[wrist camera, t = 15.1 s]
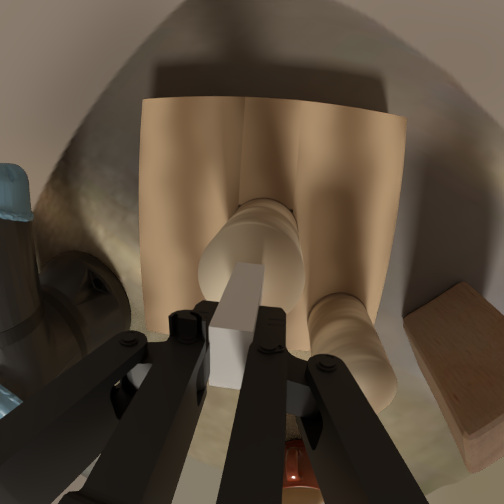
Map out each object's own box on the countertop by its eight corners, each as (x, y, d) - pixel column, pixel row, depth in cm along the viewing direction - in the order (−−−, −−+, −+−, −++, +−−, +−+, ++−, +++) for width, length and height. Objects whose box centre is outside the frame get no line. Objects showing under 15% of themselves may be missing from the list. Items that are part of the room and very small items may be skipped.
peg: (235, 246, 33) (197, 319, 18) (238, 189, 31) (197, 220, 17) (293, 252, 33) (298, 330, 18) (299, 194, 31) (312, 230, 16)
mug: (325, 458, 44) (328, 506, 34) (275, 463, 45) (272, 510, 35) (321, 417, 40) (325, 472, 31) (263, 424, 42) (257, 477, 32)
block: (398, 316, 34) (465, 439, 15) (463, 276, 32) (561, 367, 13) (418, 367, 36) (470, 479, 17) (476, 331, 34) (548, 424, 15)
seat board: (161, 309, 37) (100, 393, 22) (162, 106, 30) (72, 78, 15) (357, 329, 35) (389, 428, 20) (389, 122, 28) (471, 101, 13)
